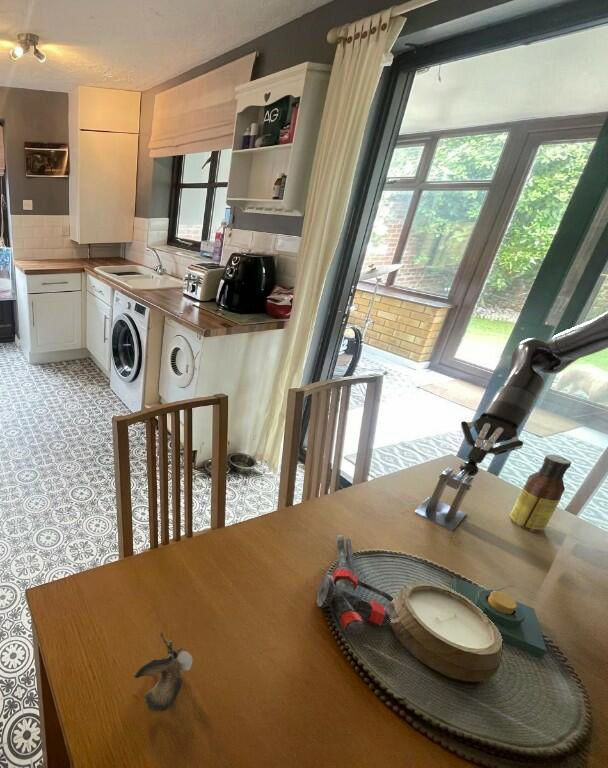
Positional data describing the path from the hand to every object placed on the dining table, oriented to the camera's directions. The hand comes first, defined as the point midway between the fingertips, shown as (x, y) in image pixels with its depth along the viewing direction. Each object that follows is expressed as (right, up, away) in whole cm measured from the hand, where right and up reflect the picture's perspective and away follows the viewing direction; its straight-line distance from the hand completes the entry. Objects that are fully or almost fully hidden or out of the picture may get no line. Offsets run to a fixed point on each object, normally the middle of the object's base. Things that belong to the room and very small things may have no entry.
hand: (472, 462), depth 105 cm
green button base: (-21, -25, -26) cm, 42 cm away
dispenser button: (-21, -22, -28) cm, 41 cm away
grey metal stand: (-10, -14, -1) cm, 17 cm away
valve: (-43, -23, -21) cm, 53 cm away
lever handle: (-5, -4, -2) cm, 7 cm away
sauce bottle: (+9, -15, -4) cm, 18 cm away
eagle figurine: (-86, -30, -37) cm, 98 cm away
